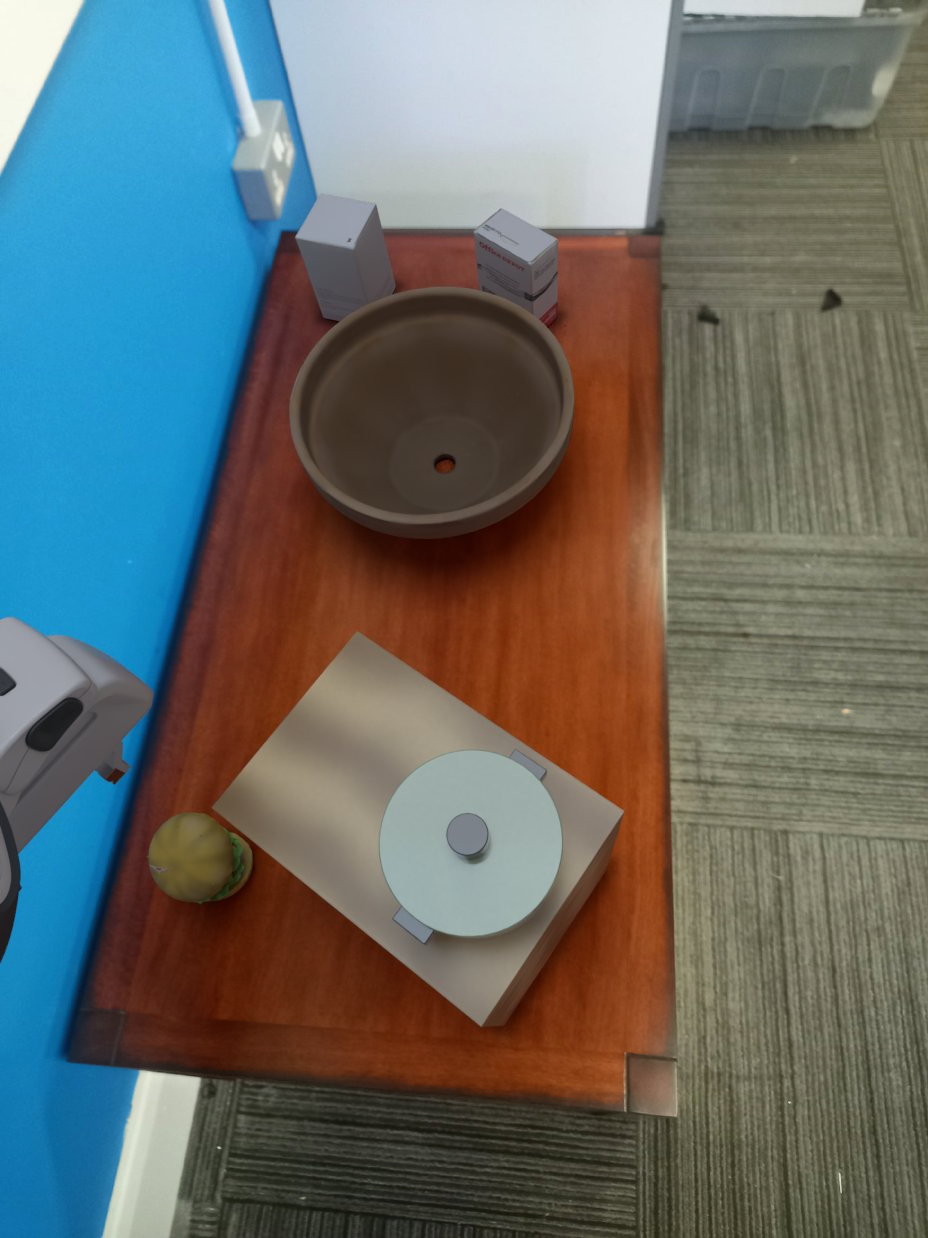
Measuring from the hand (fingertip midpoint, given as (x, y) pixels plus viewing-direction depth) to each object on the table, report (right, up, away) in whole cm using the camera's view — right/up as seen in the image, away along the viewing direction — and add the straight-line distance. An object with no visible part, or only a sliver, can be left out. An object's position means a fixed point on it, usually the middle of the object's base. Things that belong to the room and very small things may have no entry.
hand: (63, 828), depth 56 cm
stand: (+24, -9, +25) cm, 36 cm away
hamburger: (+3, -10, +27) cm, 29 cm away
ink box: (+32, +50, +51) cm, 79 cm away
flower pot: (+23, +30, +43) cm, 57 cm away
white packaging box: (+12, +53, +55) cm, 77 cm away
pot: (+26, -2, +2) cm, 26 cm away
